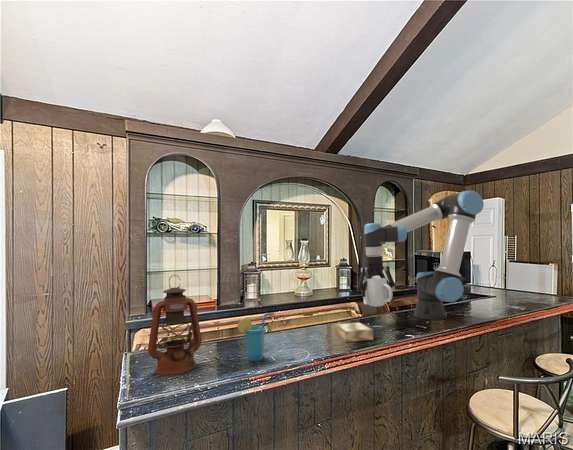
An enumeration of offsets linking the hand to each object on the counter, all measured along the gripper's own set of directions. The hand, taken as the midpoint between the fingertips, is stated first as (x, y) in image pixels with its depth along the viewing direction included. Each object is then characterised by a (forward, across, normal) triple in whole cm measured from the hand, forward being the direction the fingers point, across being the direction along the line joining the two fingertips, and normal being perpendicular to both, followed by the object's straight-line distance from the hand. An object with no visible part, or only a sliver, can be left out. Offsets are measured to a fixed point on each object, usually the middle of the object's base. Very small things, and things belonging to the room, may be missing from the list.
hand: (377, 302), depth 149 cm
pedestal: (+10, +18, +12) cm, 24 cm away
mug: (+1, 0, 0) cm, 2 cm away
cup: (+9, +60, +26) cm, 66 cm away
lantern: (+9, +87, +27) cm, 91 cm away
